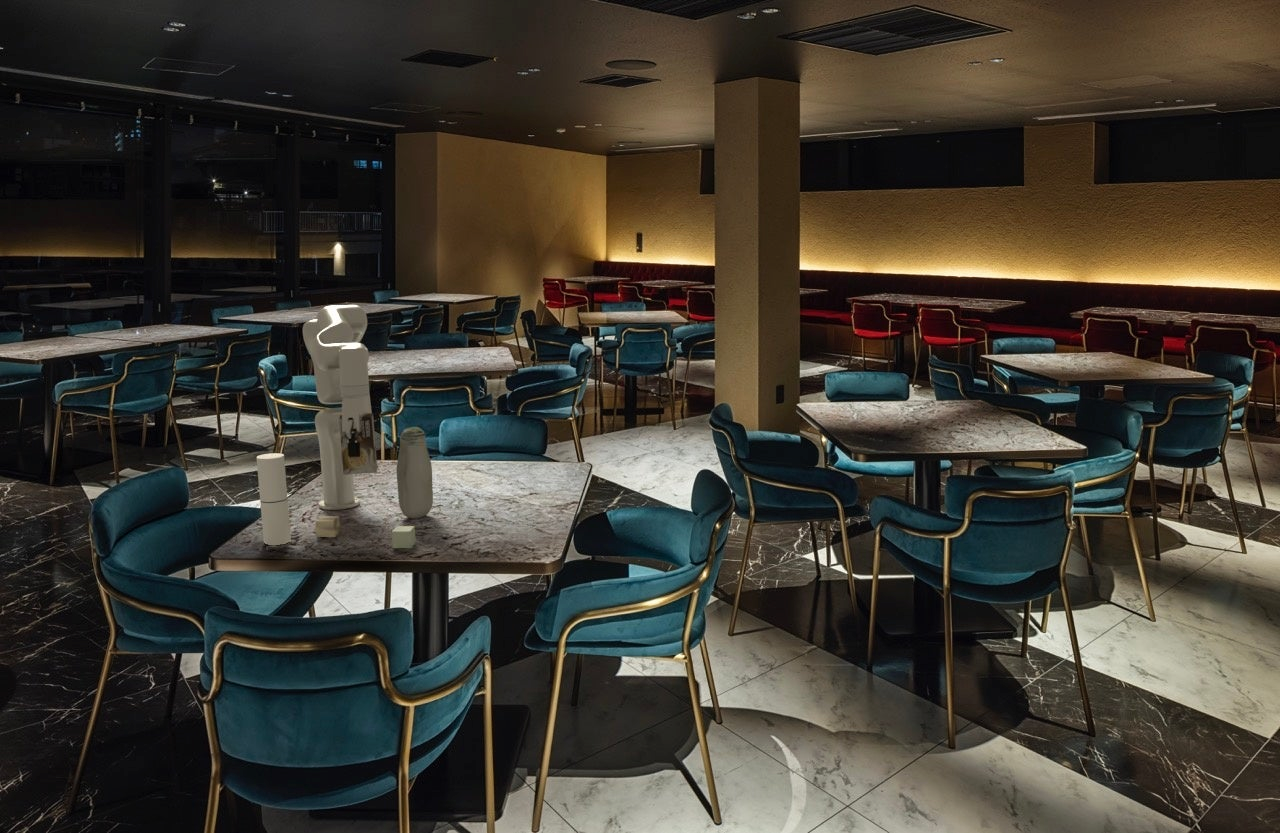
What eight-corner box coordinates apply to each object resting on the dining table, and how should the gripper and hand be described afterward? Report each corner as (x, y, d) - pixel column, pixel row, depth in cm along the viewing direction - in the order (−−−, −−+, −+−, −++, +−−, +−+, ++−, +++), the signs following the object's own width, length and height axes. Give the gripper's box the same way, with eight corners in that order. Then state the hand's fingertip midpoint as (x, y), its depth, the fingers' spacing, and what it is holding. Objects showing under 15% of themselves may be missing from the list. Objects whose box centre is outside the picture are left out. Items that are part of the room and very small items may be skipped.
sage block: (397, 543, 263) (396, 526, 262) (415, 543, 263) (414, 526, 262) (392, 549, 258) (391, 531, 257) (410, 548, 258) (409, 531, 257)
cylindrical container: (267, 548, 260) (260, 460, 255) (260, 541, 265) (253, 455, 261) (294, 543, 264) (287, 456, 260) (286, 537, 270) (279, 452, 265)
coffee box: (378, 468, 267) (374, 412, 265) (376, 473, 261) (372, 416, 258) (344, 469, 266) (340, 414, 263) (342, 475, 260) (338, 418, 257)
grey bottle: (425, 522, 282) (420, 431, 277) (394, 521, 284) (388, 430, 279) (439, 513, 292) (434, 425, 287) (408, 512, 294) (403, 424, 289)
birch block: (323, 532, 274) (321, 516, 273) (339, 532, 274) (338, 516, 273) (316, 538, 269) (315, 521, 268) (334, 538, 269) (332, 521, 268)
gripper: (352, 386, 268) (356, 446, 271) (330, 396, 251) (335, 460, 254) (378, 386, 268) (381, 446, 271) (358, 395, 251) (362, 460, 254)
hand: (359, 452), depth 263 cm, fingers closed on coffee box, 7 cm apart
